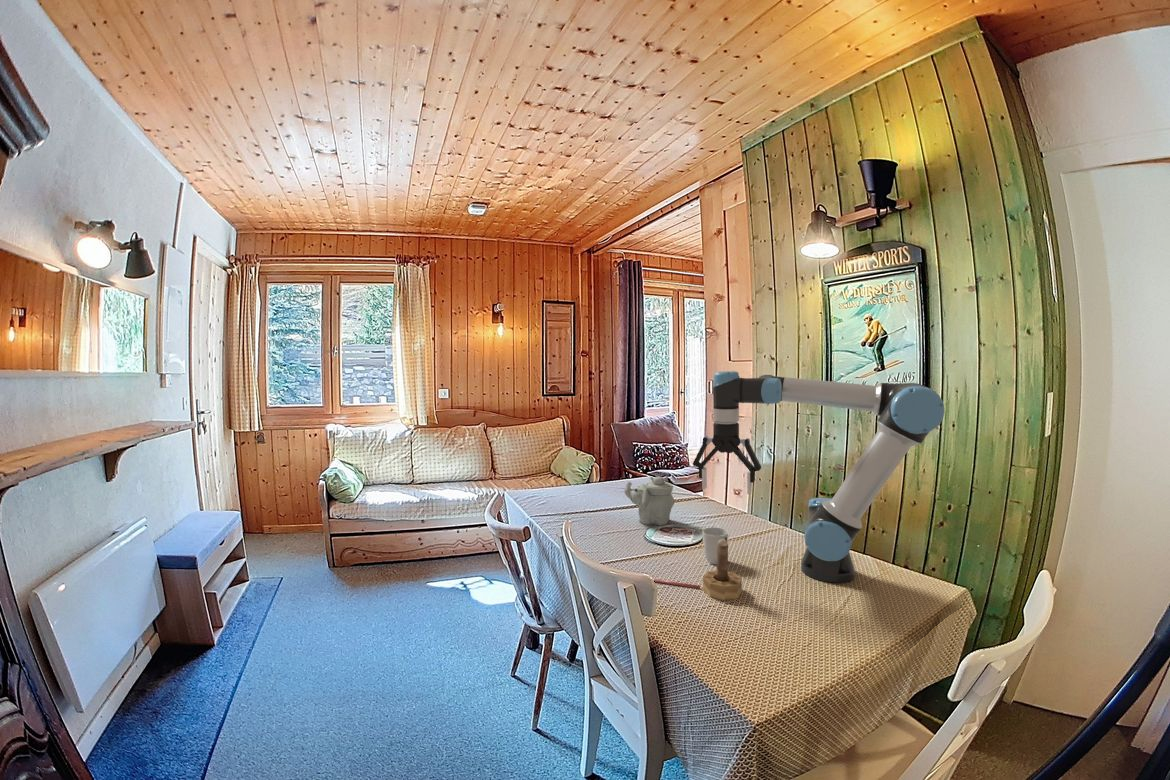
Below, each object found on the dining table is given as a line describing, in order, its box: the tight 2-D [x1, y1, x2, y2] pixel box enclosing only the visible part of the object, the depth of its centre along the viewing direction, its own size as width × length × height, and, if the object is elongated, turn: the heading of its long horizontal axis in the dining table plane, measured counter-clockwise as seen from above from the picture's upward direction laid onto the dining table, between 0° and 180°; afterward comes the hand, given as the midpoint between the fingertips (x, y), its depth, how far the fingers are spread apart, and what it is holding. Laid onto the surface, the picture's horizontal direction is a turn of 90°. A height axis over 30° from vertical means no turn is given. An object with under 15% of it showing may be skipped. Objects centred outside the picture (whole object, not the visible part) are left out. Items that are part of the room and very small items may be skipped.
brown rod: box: [716, 539, 729, 582], centre depth 153 cm, size 3×3×16 cm
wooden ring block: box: [702, 569, 743, 601], centre depth 153 cm, size 10×10×4 cm
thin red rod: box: [653, 578, 701, 589], centre depth 158 cm, size 14×1×1 cm, turn 70°
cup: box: [702, 527, 729, 565], centre depth 174 cm, size 8×8×10 cm
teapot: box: [623, 475, 675, 526], centre depth 214 cm, size 16×15×19 cm
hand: (726, 490), depth 163 cm, fingers open, 13 cm apart
